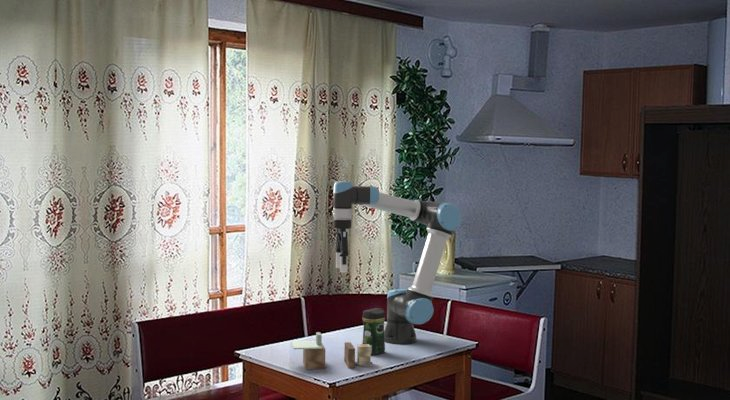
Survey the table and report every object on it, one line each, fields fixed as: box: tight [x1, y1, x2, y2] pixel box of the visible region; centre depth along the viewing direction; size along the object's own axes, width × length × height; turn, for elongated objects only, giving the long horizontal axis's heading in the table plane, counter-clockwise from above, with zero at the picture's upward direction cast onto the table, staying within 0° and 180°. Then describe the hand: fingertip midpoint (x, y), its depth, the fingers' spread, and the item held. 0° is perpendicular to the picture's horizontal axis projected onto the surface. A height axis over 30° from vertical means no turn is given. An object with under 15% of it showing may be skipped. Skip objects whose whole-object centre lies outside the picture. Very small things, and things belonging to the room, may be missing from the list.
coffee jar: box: [361, 307, 386, 356], centre depth 329 cm, size 10×8×19 cm
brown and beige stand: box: [302, 341, 356, 370], centre depth 308 cm, size 19×11×8 cm, turn 100°
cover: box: [290, 331, 323, 350], centre depth 306 cm, size 11×12×5 cm
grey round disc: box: [355, 361, 373, 367], centre depth 310 cm, size 7×7×1 cm
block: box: [356, 344, 372, 365], centre depth 310 cm, size 4×4×7 cm
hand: (341, 270), depth 325 cm, fingers open, 13 cm apart
